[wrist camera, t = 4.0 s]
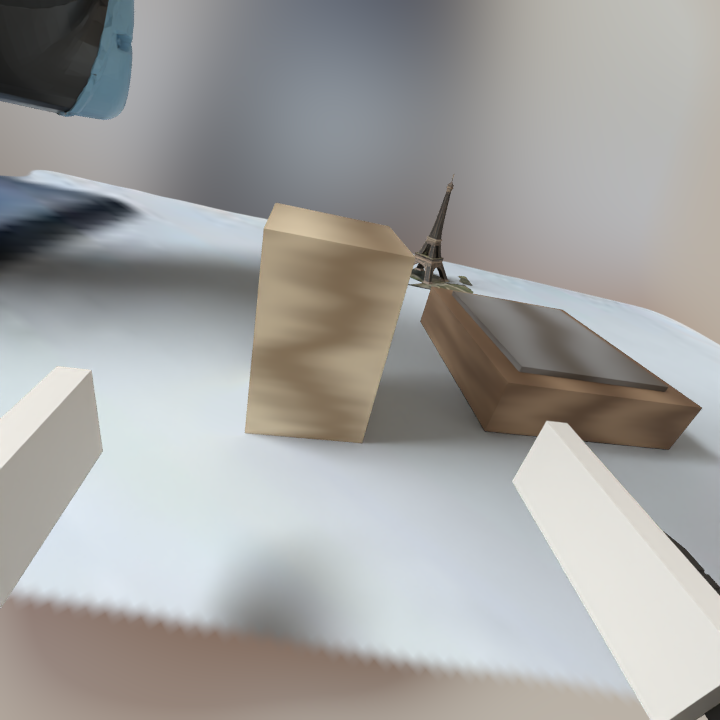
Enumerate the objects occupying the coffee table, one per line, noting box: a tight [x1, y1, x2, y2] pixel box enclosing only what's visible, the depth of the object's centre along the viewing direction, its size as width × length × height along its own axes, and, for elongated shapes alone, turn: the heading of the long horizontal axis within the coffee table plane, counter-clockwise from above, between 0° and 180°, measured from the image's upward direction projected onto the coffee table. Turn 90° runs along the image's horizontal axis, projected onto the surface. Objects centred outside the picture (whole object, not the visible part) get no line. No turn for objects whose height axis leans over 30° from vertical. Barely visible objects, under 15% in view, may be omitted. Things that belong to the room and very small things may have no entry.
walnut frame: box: [420, 287, 702, 449], centre depth 31 cm, size 14×16×4 cm
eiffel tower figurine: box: [408, 175, 473, 294], centre depth 49 cm, size 15×10×13 cm
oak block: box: [245, 203, 415, 443], centre depth 20 cm, size 6×6×10 cm
